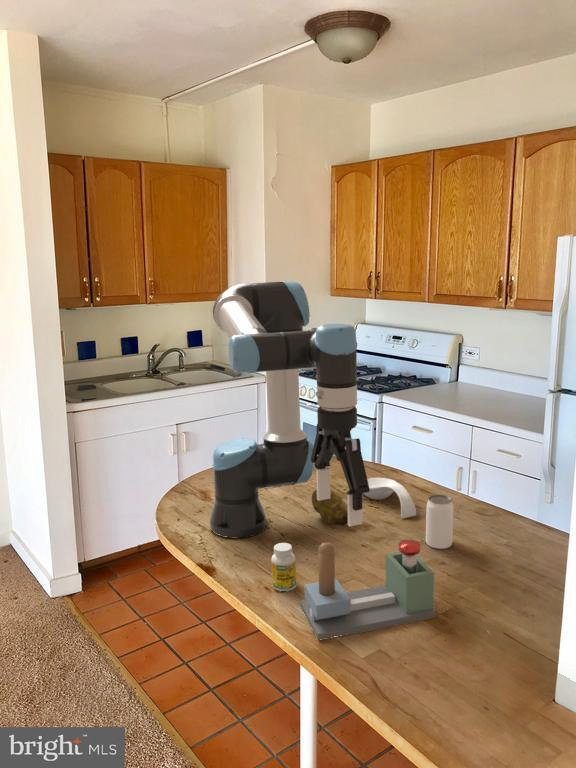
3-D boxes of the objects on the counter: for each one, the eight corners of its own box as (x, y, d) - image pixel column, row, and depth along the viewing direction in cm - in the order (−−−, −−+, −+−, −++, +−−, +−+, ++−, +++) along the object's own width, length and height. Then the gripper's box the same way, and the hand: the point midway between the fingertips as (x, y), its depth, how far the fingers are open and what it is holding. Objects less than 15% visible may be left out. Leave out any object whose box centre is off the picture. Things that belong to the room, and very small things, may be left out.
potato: (325, 531, 167) (325, 503, 165) (308, 512, 178) (307, 486, 177) (354, 526, 169) (354, 498, 167) (335, 507, 181) (334, 481, 179)
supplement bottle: (293, 578, 144) (292, 539, 142) (298, 590, 139) (297, 550, 137) (270, 581, 143) (268, 542, 141) (275, 594, 138) (273, 554, 136)
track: (300, 607, 133) (299, 566, 131) (408, 587, 139) (409, 547, 137) (317, 640, 122) (316, 596, 120) (435, 617, 128) (436, 575, 126)
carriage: (304, 604, 131) (303, 537, 127) (336, 598, 133) (336, 532, 129) (316, 626, 123) (315, 555, 120) (350, 620, 125) (350, 550, 122)
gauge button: (394, 581, 133) (395, 541, 131) (413, 577, 135) (414, 538, 132) (403, 592, 129) (404, 551, 127) (423, 588, 130) (424, 547, 128)
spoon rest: (349, 492, 192) (349, 469, 191) (382, 485, 197) (383, 463, 195) (392, 522, 171) (392, 498, 170) (428, 514, 176) (428, 490, 174)
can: (452, 550, 155) (454, 505, 152) (425, 548, 156) (426, 503, 153) (451, 538, 161) (453, 494, 158) (425, 536, 162) (426, 493, 159)
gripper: (293, 395, 130) (296, 492, 134) (350, 425, 107) (351, 540, 112) (326, 391, 133) (328, 486, 137) (388, 419, 110) (388, 532, 114)
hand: (338, 511), depth 124 cm, fingers open, 13 cm apart
